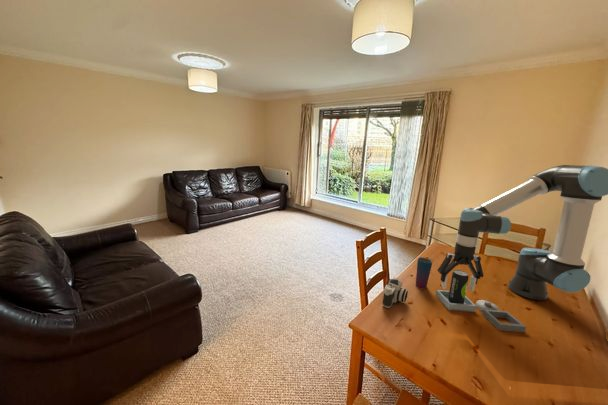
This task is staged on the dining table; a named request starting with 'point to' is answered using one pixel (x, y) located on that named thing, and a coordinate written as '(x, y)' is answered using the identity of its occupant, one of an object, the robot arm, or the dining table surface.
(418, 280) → the cup
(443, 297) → the tray
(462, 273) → the beverage can
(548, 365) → the dining table surface
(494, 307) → the grey square frame
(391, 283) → the camera
